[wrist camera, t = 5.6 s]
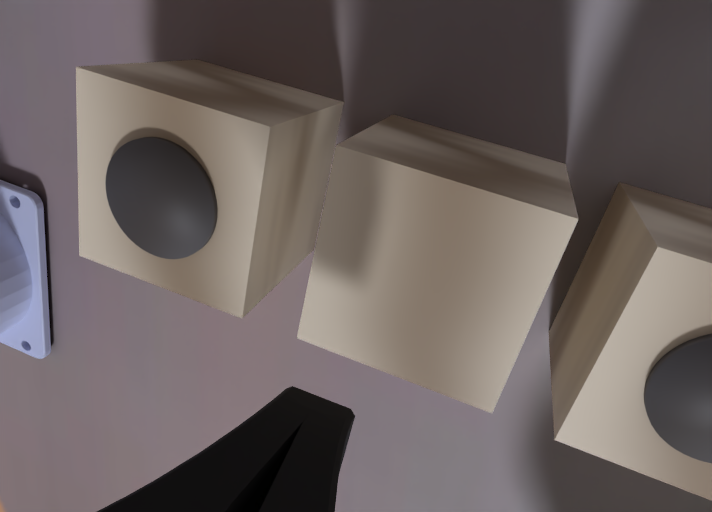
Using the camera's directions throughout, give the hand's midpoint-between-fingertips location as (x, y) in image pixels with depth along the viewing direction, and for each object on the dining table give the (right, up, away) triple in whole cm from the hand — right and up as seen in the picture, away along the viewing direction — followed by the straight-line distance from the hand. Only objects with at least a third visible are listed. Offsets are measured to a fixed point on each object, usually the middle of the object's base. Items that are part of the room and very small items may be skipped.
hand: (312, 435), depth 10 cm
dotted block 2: (+10, +3, +4) cm, 11 cm away
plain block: (+4, +5, +6) cm, 8 cm away
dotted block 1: (-2, +7, +7) cm, 10 cm away
